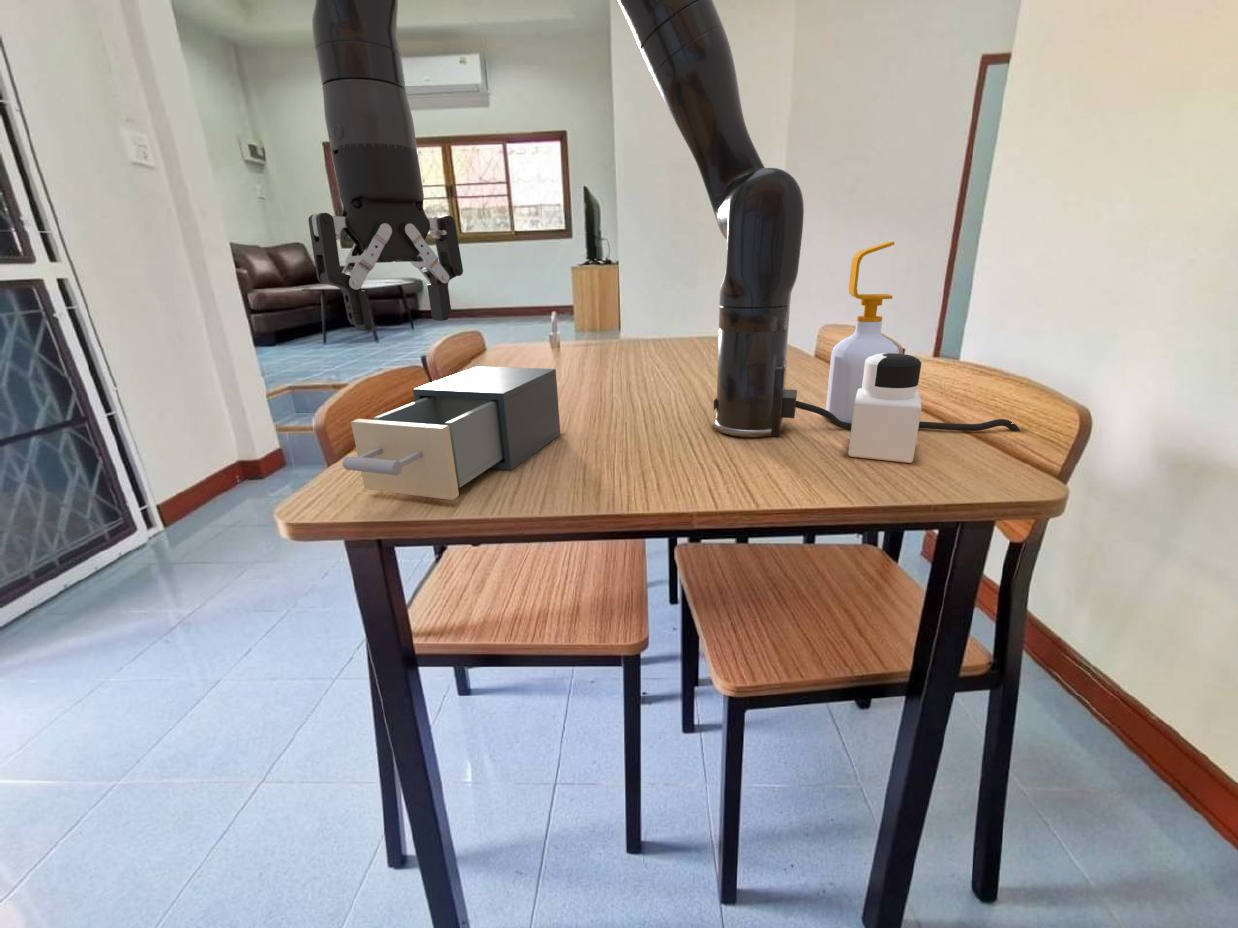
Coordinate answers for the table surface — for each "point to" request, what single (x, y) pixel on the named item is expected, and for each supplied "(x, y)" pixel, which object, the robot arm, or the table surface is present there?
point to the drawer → (428, 446)
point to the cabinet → (509, 405)
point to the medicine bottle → (887, 409)
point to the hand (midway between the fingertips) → (404, 324)
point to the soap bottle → (856, 347)
